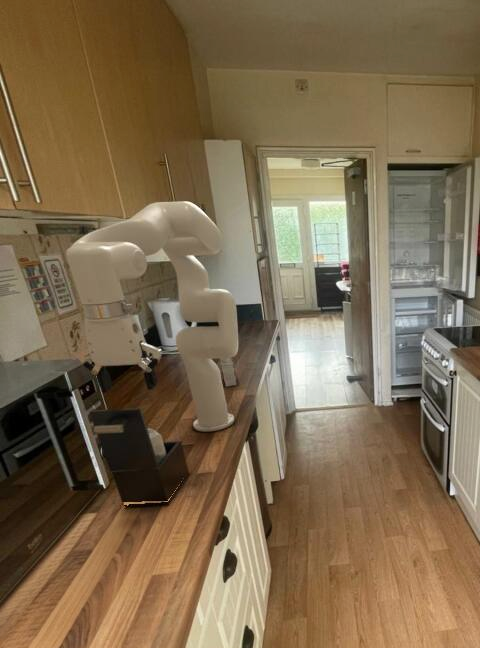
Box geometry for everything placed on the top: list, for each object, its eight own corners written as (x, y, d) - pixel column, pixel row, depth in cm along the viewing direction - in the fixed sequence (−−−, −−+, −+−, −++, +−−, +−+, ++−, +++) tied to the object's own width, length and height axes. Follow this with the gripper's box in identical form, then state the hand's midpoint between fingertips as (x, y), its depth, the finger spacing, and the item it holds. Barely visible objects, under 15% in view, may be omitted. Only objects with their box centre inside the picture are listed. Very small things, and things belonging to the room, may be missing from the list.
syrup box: (164, 478, 108) (149, 426, 102) (175, 486, 105) (161, 433, 99) (140, 488, 104) (124, 435, 98) (151, 497, 101) (135, 442, 95)
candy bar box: (223, 379, 180) (215, 341, 173) (235, 377, 182) (228, 339, 175) (224, 387, 171) (216, 347, 164) (237, 385, 172) (230, 345, 166)
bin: (149, 476, 111) (139, 443, 107) (189, 474, 111) (180, 440, 107) (124, 508, 98) (111, 472, 94) (168, 505, 99) (158, 469, 95)
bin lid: (91, 410, 88) (76, 421, 84) (141, 407, 89) (129, 418, 84) (112, 469, 94) (99, 482, 90) (158, 466, 95) (148, 479, 90)
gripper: (157, 305, 91) (176, 380, 98) (73, 308, 90) (99, 384, 97) (141, 312, 84) (163, 393, 91) (50, 316, 83) (80, 397, 90)
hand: (130, 388), depth 94 cm, fingers open, 9 cm apart
